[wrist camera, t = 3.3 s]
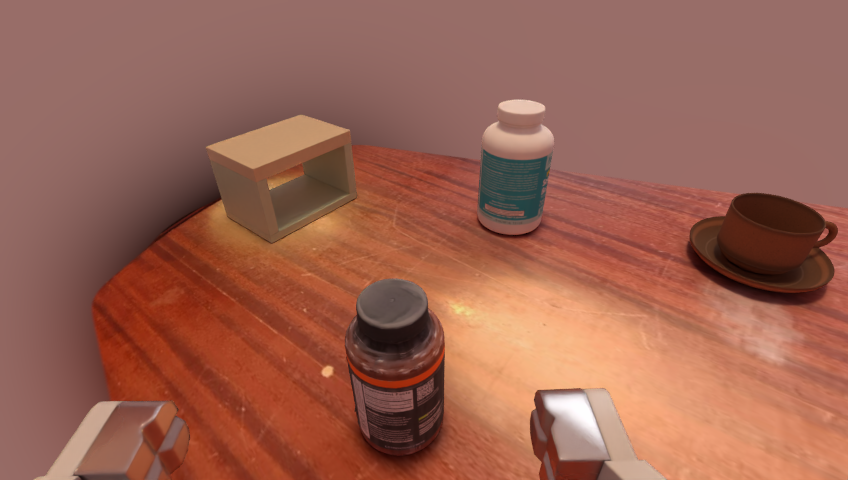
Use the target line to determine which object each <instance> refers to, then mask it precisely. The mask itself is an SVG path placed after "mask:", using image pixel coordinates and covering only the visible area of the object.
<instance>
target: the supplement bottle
mask: <svg viewBox="0 0 848 480" xmlns="http://www.w3.org/2000/svg"><path fill="white" fill-rule="evenodd" d="M356 310H357V315H356V316H355V317H354V318H353V320H352V322H351V323H350V325H349V327H348V329H347V332H346V336H345V348H346V354H347V357H346V358H347V361H348V367H349V373H350V378H351V385H352V389H353V394H354V401H355V412H356V413H357V417H358V423H359V426H360V429H361V432H362V434H363V436H364V437H365V439H366V440H367V442H368V443H369V444H370V445H371V446H372V447H374V448H375V449H377V450H378V451H381V452H383V453H386V454H389V455H398V456H402V455H409V454H413V453H415V452H418V451H420V450H422V449H424V448H425V447H426V446H428V445H429V444H430V443H431V442H432V441H433V440H434V439H435V437H436V436H437V434H438V433H439V431H440V428H441V425H442V421H443V414H444V358H445V343H444V331H443V327H442V325H441V323H440V321H439V319H438V318H437V316H436V315H435V314H434V312H432V311H431V310H430V309H429V308H428V299H427V296H426V294H425V292H424V291H423V289H422V288H421V287H419V286H418V285H417V284H415V283H413V282H411V281H407V280H403V279H384V280H381V281H377V282H375V283H373V284H371V285H369V286H368V287H366V288H365V289H364V290H363V291H362V292H361V294H360V295H359V297H358V299H357V304H356Z"/></svg>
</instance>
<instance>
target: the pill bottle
mask: <svg viewBox="0 0 848 480" xmlns="http://www.w3.org/2000/svg"><path fill="white" fill-rule="evenodd" d="M544 116H545V106H543V105H542V104H540V103H537V102H534V101H528V100H509V101H504V102H502V103H500V104H499V106H498V113H497V117H498V120H499V122H496V123H494V124H492V125H491V126H489V127H488V128H487V129H486V130H485V132H484V134H483V138H482V150H481V165H480V180H479V194H478V209H477V215H478V219H479V221H480V222H481V223H482V224H483V225H484V226H485V227H486V228H488V229H490V230H492V231H494V232H497V233H501V234H507V235H519V234H524V233H528V232H530V231H532V230H534V229H535V228H537V227H538V225H539V224H540V222H541V219H542V213H543V207H544V201H545V194H546V189H547V182H548V177H549V171H550V164H551V159H552V153H553V147H554V137H553V135H552V133H551V132H550V130H548V128H546V127H545V126H543V125H541V124H542V122H543V120H544Z"/></svg>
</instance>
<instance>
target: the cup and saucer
mask: <svg viewBox="0 0 848 480" xmlns="http://www.w3.org/2000/svg"><path fill="white" fill-rule="evenodd" d="M825 228H827V229H828V230H829V233H828V235H827V236H826V237H825V238H824V239H822V240H820V241H817V240H818V239H819V237H820V235H821V234H822V232H823V231H824V229H825ZM837 233H838V228H837V226H836V225H835V224H834V223H832V222H828V221H825V220H824V218H823V217H822V216H821V215H820V214H819V213H818V212H816V211H815V210H813V209H812V208H810V207H808V206H806V205H804V204H802V203H799V202H797V201H794V200H791V199H788V198H785V197H781V196H776V195H771V194H764V193H746V194H741V195H738V196H736V197H735V198H734V199H733V200H732V202H731V205H730V207H729V209H728V212H727V214H726V216H721V217H711V218H707V219H704V220H701V221H699V222H697V223H696V224H695V225H694V226H693V227H692V229H691V231H690V242H691V245H692V247H693V249H694V250H695V252H696V253H697V254H698V256H699V257H700V258H701V259H702V260H703V261H704V262H705V263H706V264H708V265H709V266H710V267H712V268H713V269H714V270H716V271H718V272H719V273H721V274H723V275H724V276H726V277H728V278H730V279H733V280H735V281H737V282H740V283H742V284H745V285H748V286H751V287H755V288H759V289H763V290H768V291H774V292H782V293H798V292H808V291H813V290H817V289H819V288H821V287H823V286H825V285H826V284H827V283H828V282H829V281H831V279H832V278H833V276H834V267H833V264H832V262H831V260H830V259H829V258H828V256H827V255H826V254H825V253H824V252H823V251H822V250H821V249H819V247H822V246H825V245H827V244H828V243H830V242H831V241H832V240H833V239H834V238H835V237H836V235H837Z"/></svg>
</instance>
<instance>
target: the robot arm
mask: <svg viewBox="0 0 848 480" xmlns="http://www.w3.org/2000/svg"><path fill="white" fill-rule="evenodd" d="M534 402H535V406H536V409H535V410H533V411H532V412H531V418H530V434H531V441H532V446H533V451H534V454H535V455H536V456H537V458H538V459H539V460H540V461H541V462H542V464H541V468H540V472H539V477H540V480H667V479H666V478H665V477H664V476H663V475H661V474H660V473H659V472H658V471H657V470H656V469H655V468H654V467H653V466H651V465H650V464H649V463H648V462H647V461H646V460H638V458H637V456H636V454H635V451H634V449H633V447H632V444H631V442H630V440H629V437H628V435H627V433H626V431H625V428H624V426H623V424H622V421H621V419H620V417H619V414H618V412H617V410H616V407H615V405H614V403H613V400H612V398H611V396H610V394H609V392H608V391H607V390H606V389H604V388H594V389H580V388H577V389H554V390H538V391H537V392H536V393H535V398H534ZM177 412H178V408H177V406H176V405H175V403H174V402H173V401H109V402H99V403H98V404H97V405H95V406H94V407H93V408H92V409H91V410H90V411H89V413H88V414H87V416H86V417H85V419H84V420H83V421H82V423H81V424H80V426H79V427H78V429H77V430H76V432H75V433H74V435H73V436H72V438H71V439H70V440H69V442H68V443H67V445H66V446H65V448H64V449H63V451H62V452H61V454H60V455H59V457H58V458H57V460H56V461H55V462H54V464H53V465H52V467H51V468H50V470H49V471H48V473H47V474H46V476H43V477H37V478H35V479H34V480H172V477H171V474H172V473H173V472H174V471H175V470H176V469H177V468H178V467H179V466H181V465H182V464H183V461H184V459H185V456H186V454H187V451H188V446H189V440H190V434H189V428H188V426H187V424H186V422H185V421H184V420H182V419H180V418H179V417H177V416H176V414H177Z"/></svg>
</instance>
